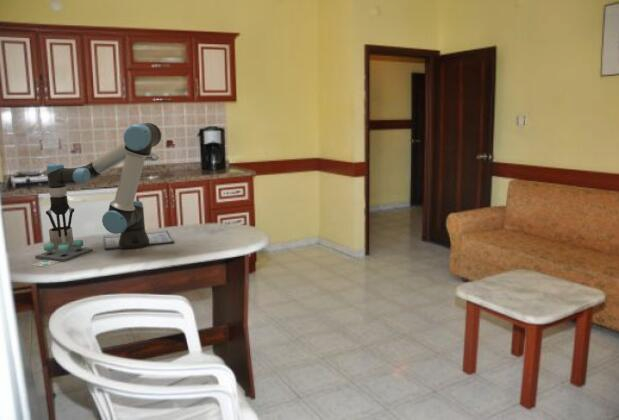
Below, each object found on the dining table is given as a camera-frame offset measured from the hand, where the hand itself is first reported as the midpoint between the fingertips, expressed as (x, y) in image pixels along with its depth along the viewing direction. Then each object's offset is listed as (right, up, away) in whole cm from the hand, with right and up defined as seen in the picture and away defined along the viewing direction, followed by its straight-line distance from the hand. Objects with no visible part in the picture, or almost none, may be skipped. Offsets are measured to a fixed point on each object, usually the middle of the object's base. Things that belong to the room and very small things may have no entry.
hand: (63, 242), depth 256 cm
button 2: (+5, -5, -11) cm, 13 cm away
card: (+1, -9, -19) cm, 20 cm away
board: (+3, -6, -5) cm, 8 cm away
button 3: (0, -4, +1) cm, 4 cm away
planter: (-6, -3, +11) cm, 13 cm away
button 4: (-3, -4, -8) cm, 9 cm away
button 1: (+9, -3, -3) cm, 9 cm away
